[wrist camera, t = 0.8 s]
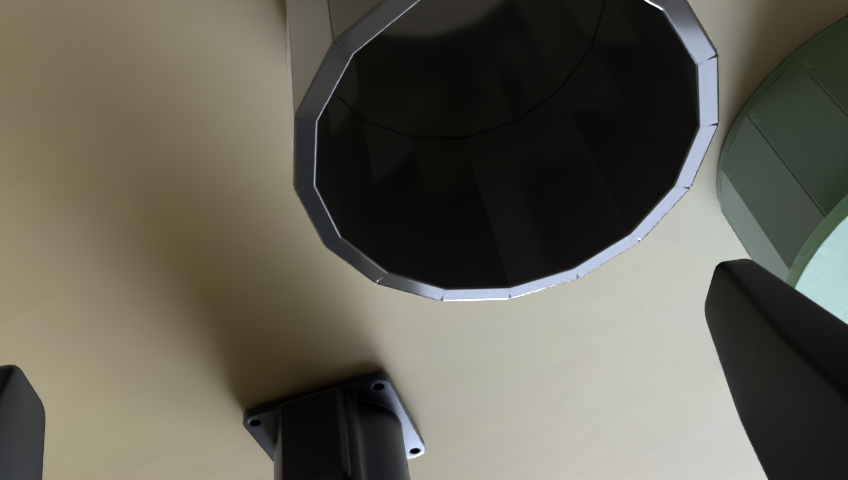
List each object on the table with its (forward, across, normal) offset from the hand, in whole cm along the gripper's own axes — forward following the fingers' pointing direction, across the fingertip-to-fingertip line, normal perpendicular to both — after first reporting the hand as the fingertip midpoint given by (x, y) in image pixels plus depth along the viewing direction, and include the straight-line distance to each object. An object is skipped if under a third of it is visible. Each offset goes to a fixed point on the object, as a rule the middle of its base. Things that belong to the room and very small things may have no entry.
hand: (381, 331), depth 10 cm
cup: (+14, -3, +3) cm, 15 cm away
